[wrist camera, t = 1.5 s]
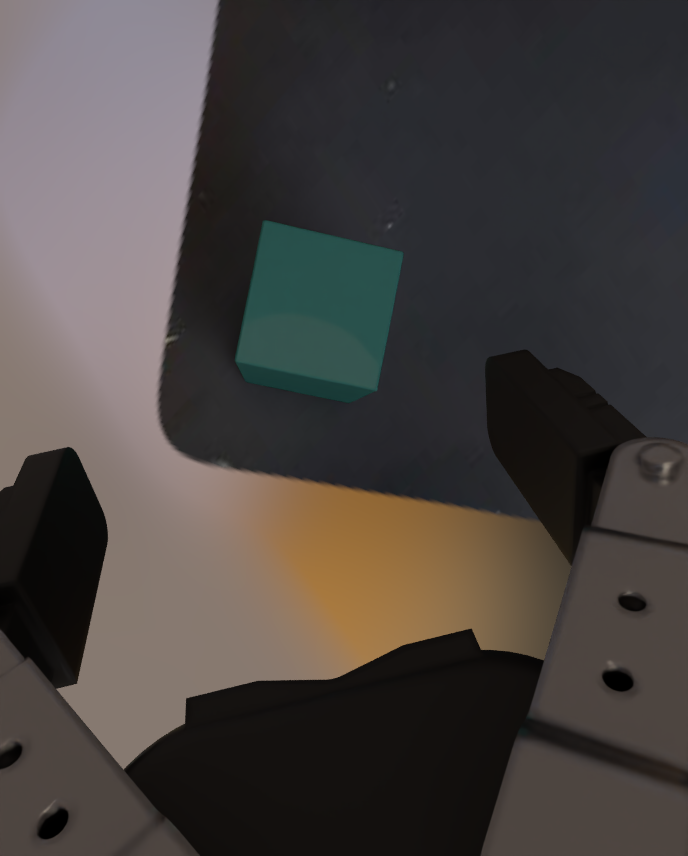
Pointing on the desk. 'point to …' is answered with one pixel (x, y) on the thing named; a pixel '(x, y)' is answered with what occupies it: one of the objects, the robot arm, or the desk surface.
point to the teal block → (317, 313)
